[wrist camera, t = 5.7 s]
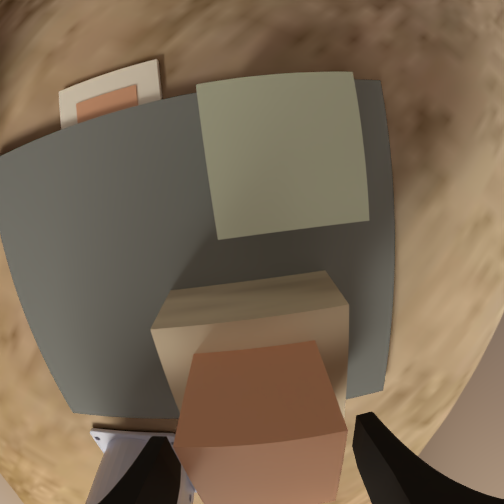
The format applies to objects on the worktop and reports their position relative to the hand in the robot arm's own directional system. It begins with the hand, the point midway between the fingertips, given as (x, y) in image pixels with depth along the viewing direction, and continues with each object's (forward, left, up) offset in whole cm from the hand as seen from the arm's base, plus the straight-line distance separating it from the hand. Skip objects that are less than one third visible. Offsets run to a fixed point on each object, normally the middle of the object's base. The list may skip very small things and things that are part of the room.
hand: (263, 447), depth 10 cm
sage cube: (+10, -2, -7) cm, 12 cm away
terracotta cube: (0, 0, -3) cm, 3 cm away
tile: (+13, +6, -8) cm, 16 cm away
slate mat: (+4, +3, -8) cm, 10 cm away
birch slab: (0, 0, -7) cm, 7 cm away
